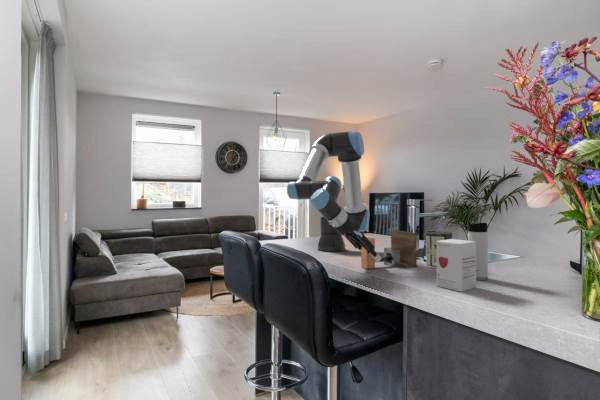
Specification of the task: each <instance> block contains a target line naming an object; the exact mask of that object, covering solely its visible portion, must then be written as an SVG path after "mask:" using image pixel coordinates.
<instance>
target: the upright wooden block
mask: <svg viewBox="0 0 600 400" xmlns="http://www.w3.org/2000/svg"><path fill="white" fill-rule="evenodd" d="M366 238H367V239H368V240H369V241H370V242H371V243H372V244H373V246H374V247H375V248H374V250H375V251H376V238H373V237H366ZM360 252H361V253H360V257H361V259H360V264H361V266H360V267H361V268H364V269H367V270H369V269H375V268H376V263H377V262H376V261H375V260H374V259H373V258H372V257H371V256H370V255H369V254H367V252H368V251H367V250H366V249H365V248H363V247H362V246H361V250H360ZM380 257H381V260H380V261H379V262H378V263H380V262H381V263H382V262H383V263H384V261H389V262H392V256H391V255H387V257H384V256H380Z"/></svg>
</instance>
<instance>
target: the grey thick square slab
mask: <svg viewBox="0 0 600 400" xmlns="http://www.w3.org/2000/svg"><path fill="white" fill-rule="evenodd" d="M387 255H391V256H392V262H389V261H383V264H384V265H386V266H388V267H393V268H398V267H401V266H400V250H399V249H394V248H391V247H384V248H383V257H387Z"/></svg>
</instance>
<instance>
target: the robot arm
mask: <svg viewBox="0 0 600 400" xmlns="http://www.w3.org/2000/svg"><path fill="white" fill-rule="evenodd" d="M308 151H309V155H308V157H307V159H306V161H305V163H304V165H303V167H302V169H301V171H300V173H299V175H298V177H297V179H296V181H295V180H294V181H289V182H288V183H287V187H286V193H287V196H288V198H289V199H290V200H309V201H310V203H311V205H313V207H314V208H315V210H316V211H318V212H319V214H320V217H319V219H320V237H319V240H318V244H317V250H318V251H321V252H342V251H345V250H346V244H345V241H344V240H345V239H346V240H347V241H348V243H350V244H351V245H352V246H353V247H354V248H355V249H358V250H359V251H361V246H362V247H363V248H365V249H366V250H367V251H368V252H367V254H369V255H370V256H371V257H372V258H373V259H374V260H375V261H376V262H375V263H377V264H378V263H380V262H379V261H380V260H381V257H382V256H381V255H379V253H378V252H377V251H376V246H375V247H374V246H373V244H372V243H371V242H370V241H369V240H368V239H367V238H368V237H367V236H366V235H365V233H364V232H365V231H367V229H369V223H370V213H371V212H370V209H368V208H367V206H366V205H365V203H363V196H362V184H361V183H362V181H361V173H360V172H361V171H360V160H361V159H362V156H364V154H365V143H364V140H363V136H362V134H361V133H360V132H359V131H350V130H349V131H341V132H329V133H326V134H323V135H321V136H320V137H319V138H318V139H316V140H315V141H314V142H313V144H312V145H311V147H310V148H309V150H308ZM332 157H337V162H339V163H341V169H342V179H343V180H342V181H343V188H344V198H345V206H343V208H342V206H341V205H339V203H338V202H337V201H338V198H339V195H340V193H341V189H342V181H341V179H340V178H338V177H337V176H334V175H329V176H327V177H326V178H325V179H324V180H317V178H318V175H319V173H320V171H321V169H322V166H323V164H324V162H325V161H326V160H327V159H328V158H332ZM343 236H344V238H345V239H344V238H343ZM374 248H375V250H374Z"/></svg>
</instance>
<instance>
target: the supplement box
mask: <svg viewBox="0 0 600 400" xmlns="http://www.w3.org/2000/svg"><path fill="white" fill-rule="evenodd" d="M436 287H439V288H443V289H449V290H452V291H457V292H465V291H466V292H467V291H469V290H472V289H476V288H477V280H476V241H468V240H465V239H457V238H452V239H448V240H439V241H437V268H436Z"/></svg>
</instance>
